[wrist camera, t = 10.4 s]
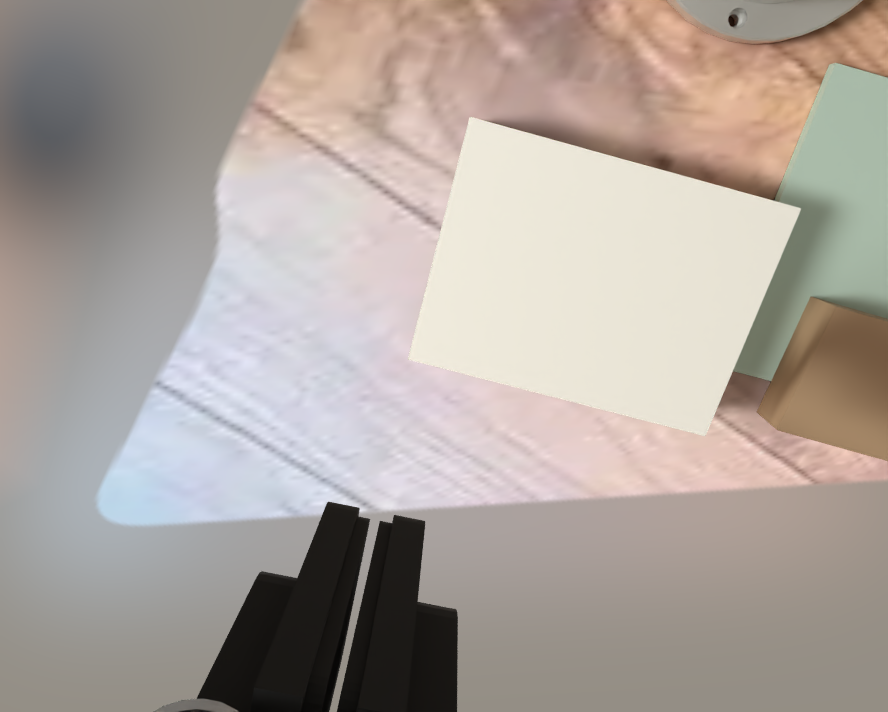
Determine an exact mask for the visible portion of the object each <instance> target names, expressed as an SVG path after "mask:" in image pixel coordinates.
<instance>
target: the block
mask: <svg viewBox="0 0 888 712" xmlns="http://www.w3.org/2000/svg"><path fill="white" fill-rule="evenodd" d="M757 413H758V414H759V415H760V416H762V417H763V418H764V419H765V420H766V421H767V422H768V423H770V424H771V425H772V426H773V427H774V428H775V429H777V430H779V431H782V432H786V433H790V434H793V435H797V436H800V437H804V438H807V439H811V440H814V441H818V442H822V443H825V444H829V445H832V446H836V447H839V448H843V449H847V450H850V451H854V452H857V453H861V454H864V455H868V456H872V457H875V458H879V459H882V460H886V461H888V319H887V318H883V317H880V316H876V315H873V314H870V313H866V312H863V311H859V310H856V309H852V308H849V307H846V306H842V305H839V304H835V303H832V302H828V301H825V300H822V299H818V298H815V297H810V299H809V301H808V303H807V305H806V307H805V309H804V312H803V314H802V316H801V318H800V320H799V322H798V324H797V327H796V329H795V331H794V333H793V335H792V337H791V340H790V342H789V344H788V346H787V348H786V350H785V352H784V355H783V357H782V359H781V361H780V363H779V365H778V367H777V370H776V372H775V374H774V376H773V378H772V380H771V382H770V385H769V387H768V389H767V391H766V393H765V395H764V397H763V400H762V402H761V404H760V406H759V408H758V410H757Z"/></svg>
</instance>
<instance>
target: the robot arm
mask: <svg viewBox="0 0 888 712" xmlns="http://www.w3.org/2000/svg"><path fill="white" fill-rule="evenodd" d="M861 1H863V0H667V2H668V3H669V4H670V5H671V6H672V7H673V8H674V9H675V10H676V11H677V12H678V13H679V14H680V15H681V16H682V17H683V18H684V19H685V20H686V21H688V22H689V23H691V24H693V25H694V26H696V27H698V28H699V29H701V30H702V31H704V32H706V33H707V34H710V35H713V36H716V37H719V38H722V39H725V40H728V41H732V42H740V43H749V44H761V43H772V42H781V41H784V40H787V39H791V38H794V37H798V36H801V35H805V34H807V33H809V32H812V31H814V30H816V29H819V28H821V27H824V26H826V25H828V24H829V23H831V22H833V21H834V20H836V19H838V18H839V17H841V16H842V15H844V14H846V13H847V12H849V11H851V10H852V9H853V8H854V7H855V6H857V5H858V4H859V3H860V2H861ZM729 16H732V17H733V18H734V19H735V24H734V26H733V27H731V26H730V25H729V22H728V18H729ZM358 515H359V508H357V507H352V506H347V505H342V504H337V503H332V502H328V503H327V505H326V507H325V510H324V512H323V515H322V517H321V520H320V522H319V525H318V527H317V530H316V533H315V535H314V537H313V540H312V543H311V545H310V548H309V550H308V553H307V555H306V558H305V560H304V563H303V565H302V568H301V570H300V573H299V576H298V578H293V577H288V576H283V575H278V574H273V573H267V572H260V573H259V575H258V576H257V578H256V580H255V582H254V584H253V586H252V588H251V590H250V592H249V594H248V596H247V598H246V600H245V602H244V604H243V606H242V608H241V610H240V612H239V614H238V616H237V618H236V620H235V622H234V624H233V626H232V628H231V630H230V632H229V634H228V636H227V638H226V640H225V642H224V644H223V646H222V648H221V651H220V653H219V654H218V657H217V658H216V660H215V663H214V664H213V666H212V668H211V670H210V672H209V675H208V677H207V679H206V681H205V683H204V685H203V687H202V689H201V691H200V693H199V695H198V697H197V699H190V700H181V701H178V702H175V703H171V704H168V705H165V706H162V707H161V708H159V709H157V710H156V711H154V712H329V710H330V706H331V702H332V698H333V693H334V689H335V685H336V681H337V677H338V672H339V668H340V664H341V660H342V655H343V650H344V646H345V641H346V635H347V631H348V626H349V620H350V616H351V611H352V606H353V601H354V596H355V591H356V586H357V581H358V576H359V571H360V566H361V562H362V557H363V552H364V547H365V541H366V537H367V532H368V527H369V522H370V519H368V518H363V517H358ZM424 530H425V521H422V520H417V519H412V518H407V517H402V516H397V515H394V518H393V523H388V522H383V521H380V523H379V528H378V532H377V536H376V541H375V545H374V550H373V554H372V558H371V563H370V568H369V572H368V576H367V580H366V585H365V589H364V594H363V599H362V603H361V607H360V611H359V616H358V620H357V625H356V629H355V633H354V638H353V643H352V647H351V651H350V656H349V660H348V665H347V669H346V673H345V678H344V682H343V686H342V691H341V695H340V700H339V705H338V709H337V712H457V635H458V632H457V630H458V629H457V627H458V625H457V623H458V617H457V610H456V609H451V608H446V607H441V606H436V605H431V604H426V603H421V602H417V601H418V591H419V581H420V570H421V560H422V549H423V540H424Z"/></svg>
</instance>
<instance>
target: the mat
mask: <svg viewBox="0 0 888 712" xmlns="http://www.w3.org/2000/svg"><path fill="white" fill-rule="evenodd" d="M774 201H776V202H780V203H784V204H787V205H791V206H794V207H798V208H801V210H800V213H799V215H798V218H797V220H796V222H795V225H794V227H793V229H792V232H791V234H790V237H789V239H788V241H787V244H786V246H785V248H784V251H783V253H782V256H781V258H780V260H779V263H778V265H777V267H776V270H775V272H774V275H773V277H772V279H771V282H770V284H769V286H768V289H767V291H766V293H765V296H764V298H763V301H762V303H761V305H760V308H759V310H758V312H757V315H756V317H755V320H754V322H753V324H752V327H751V329H750V331H749V334H748V336H747V339H746V341H745V343H744V346H743V348H742V350H741V353H740V355H739V358H738V360H737V362H736V365H735V367H734V369H733V371H734V372H738V373H742V374H746V375H750V376H753V377H757V378H761V379H765V380H769V381H771V380H772V378H773V376H774V374H775V372H776V370H777V367H778V365H779V363H780V361H781V359H782V357H783V355H784V352H785V350H786V348H787V346H788V344H789V342H790V340H791V337H792V335H793V333H794V331H795V329H796V327H797V324H798V322H799V320H800V318H801V316H802V314H803V312H804V309H805V307H806V305H807V303H808V301H809V299H810V297H815V298H818V299H822V300H825V301H828V302H832V303H835V304H839V305H842V306H846V307H849V308H852V309H856V310H859V311H863V312H866V313H870V314H873V315H876V316H880V317H883V318H887V319H888V78H887V77H883V76H880V75H876V74H873V73H869V72H866V71H862V70H859V69H856V68H852V67H849V66H845V65H842V64H838V63H834V64H830V65H829V67H828V69H827V72H826V74H825V76H824V79H823V81H822V84H821V86H820V89H819V91H818V94H817V96H816V99H815V101H814V103H813V106H812V108H811V111H810V113H809V116H808V118H807V121H806V123H805V126H804V128H803V131H802V133H801V135H800V138H799V140H798V143H797V145H796V148H795V150H794V153H793V155H792V158H791V160H790V162H789V165H788V167H787V170H786V172H785V175H784V177H783V180H782V182H781V185H780V187H779V189H778V192H777V194H776V197H775V199H774Z"/></svg>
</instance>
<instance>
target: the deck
mask: <svg viewBox="0 0 888 712" xmlns="http://www.w3.org/2000/svg"><path fill="white" fill-rule="evenodd" d="M800 210H801V208H798V207H794V206H791V205H787V204H784V203H780V202H776V201H773V200H769V199H766V198H762V197H758V196H755V195H751V194H747V193H744V192H740V191H737V190H733V189H729V188H726V187H722V186H719V185H715V184H711V183H708V182H704V181H700V180H697V179H693V178H690V177H686V176H682V175H679V174H675V173H672V172H668V171H664V170H661V169H657V168H653V167H650V166H646V165H643V164H639V163H635V162H632V161H628V160H624V159H621V158H617V157H614V156H610V155H606V154H603V153H599V152H596V151H592V150H588V149H585V148H581V147H577V146H574V145H570V144H567V143H563V142H559V141H556V140H552V139H549V138H545V137H541V136H538V135H534V134H530V133H527V132H523V131H520V130H516V129H512V128H509V127H505V126H502V125H498V124H494V123H491V122H487V121H483V120H480V119H476V118H473V117H470V118H469V122H468V126H467V130H466V134H465V138H464V142H463V146H462V149H461V153H460V157H459V161H458V165H457V169H456V173H455V177H454V181H453V185H452V189H451V192H450V196H449V200H448V204H447V208H446V212H445V216H444V220H443V224H442V228H441V232H440V235H439V239H438V243H437V247H436V251H435V255H434V259H433V263H432V267H431V271H430V275H429V279H428V282H427V286H426V290H425V294H424V298H423V302H422V306H421V310H420V314H419V318H418V322H417V325H416V329H415V333H414V337H413V341H412V345H411V349H410V353H409V357H408V360H411V361H415V362H419V363H423V364H427V365H431V366H435V367H439V368H442V369H446V370H450V371H454V372H458V373H462V374H466V375H470V376H474V377H477V378H481V379H485V380H489V381H493V382H497V383H501V384H505V385H508V386H512V387H516V388H520V389H524V390H528V391H532V392H536V393H539V394H543V395H547V396H551V397H555V398H559V399H563V400H567V401H571V402H574V403H578V404H582V405H586V406H590V407H594V408H598V409H602V410H605V411H609V412H613V413H617V414H621V415H625V416H629V417H633V418H636V419H640V420H644V421H648V422H652V423H656V424H660V425H664V426H667V427H671V428H675V429H679V430H683V431H687V432H691V433H695V434H699V435H702V436H706V433H707V431H708V429H709V426H710V424H711V422H712V419H713V417H714V414H715V412H716V410H717V407H718V405H719V403H720V400H721V398H722V395H723V393H724V391H725V388H726V386H727V384H728V381H729V379H730V377H731V374H732V372H733V369H734V367H735V365H736V362H737V360H738V358H739V355H740V353H741V350H742V348H743V346H744V343H745V341H746V339H747V336H748V334H749V331H750V329H751V327H752V324H753V322H754V320H755V317H756V315H757V312H758V310H759V308H760V305H761V303H762V301H763V298H764V296H765V293H766V291H767V289H768V286H769V284H770V282H771V279H772V277H773V275H774V272H775V270H776V267H777V265H778V263H779V260H780V258H781V256H782V253H783V251H784V248H785V246H786V244H787V241H788V239H789V237H790V234H791V232H792V229H793V227H794V225H795V222H796V220H797V218H798V215H799V213H800Z"/></svg>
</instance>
